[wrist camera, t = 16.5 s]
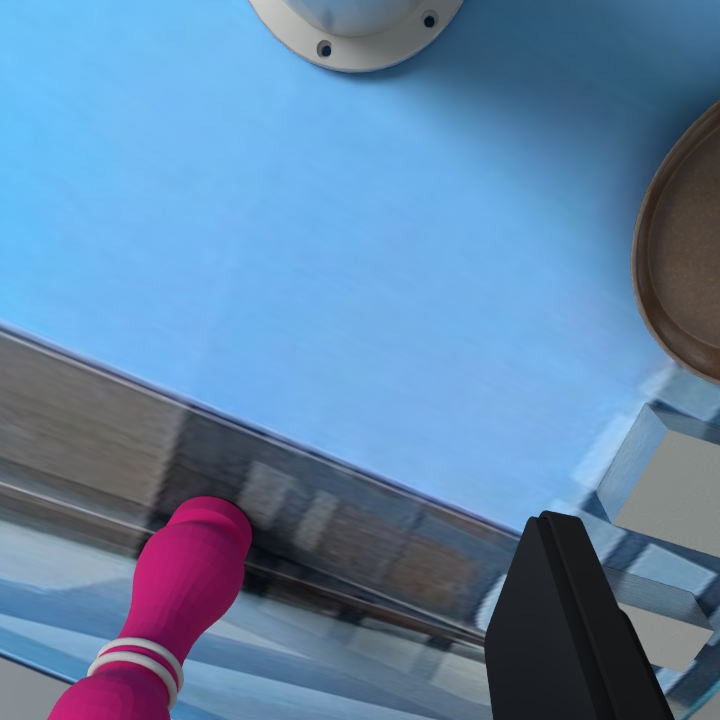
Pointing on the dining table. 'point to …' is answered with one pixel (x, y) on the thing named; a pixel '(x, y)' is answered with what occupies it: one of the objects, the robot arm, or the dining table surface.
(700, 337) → the plant saucer
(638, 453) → the bench vise
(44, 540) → the dining table surface
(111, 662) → the pepper mill
